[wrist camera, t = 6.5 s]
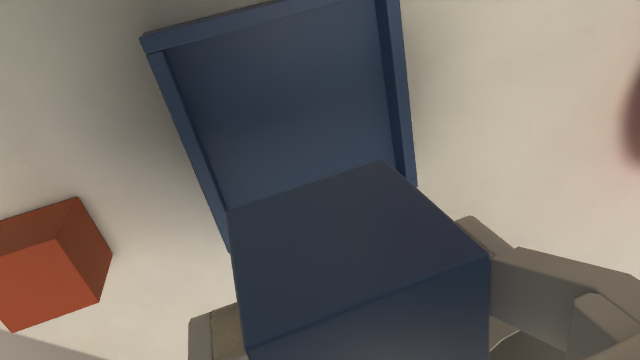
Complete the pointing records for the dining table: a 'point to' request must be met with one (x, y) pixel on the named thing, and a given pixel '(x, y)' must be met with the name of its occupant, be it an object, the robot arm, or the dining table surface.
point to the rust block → (50, 264)
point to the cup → (518, 344)
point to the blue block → (357, 273)
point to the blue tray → (285, 95)
